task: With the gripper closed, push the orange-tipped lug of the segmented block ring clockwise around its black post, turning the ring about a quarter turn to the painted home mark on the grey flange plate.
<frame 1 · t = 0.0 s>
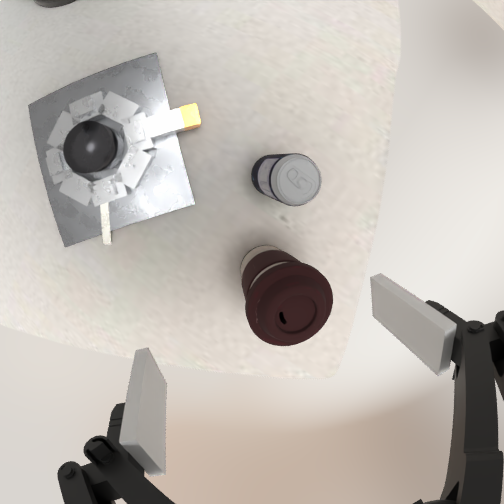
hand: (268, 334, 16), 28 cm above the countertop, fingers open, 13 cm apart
beverage can: (270, 174, 42), on the countertop
segmented block ring: (119, 139, 34), point 3 cm above the countertop, hinge at 0.0°
flange plate: (104, 149, 36), on the countertop
coffee cup: (263, 267, 46), on the countertop
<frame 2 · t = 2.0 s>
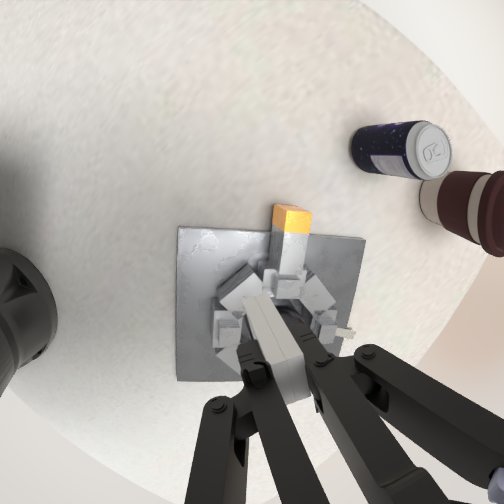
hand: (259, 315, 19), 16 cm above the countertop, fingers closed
beverage can: (366, 149, 34), on the countertop
segmented block ring: (279, 301, 33), point 3 cm above the countertop, hinge at 0.0°
flange plate: (267, 312, 37), on the countertop
coffee cup: (434, 196, 38), on the countertop
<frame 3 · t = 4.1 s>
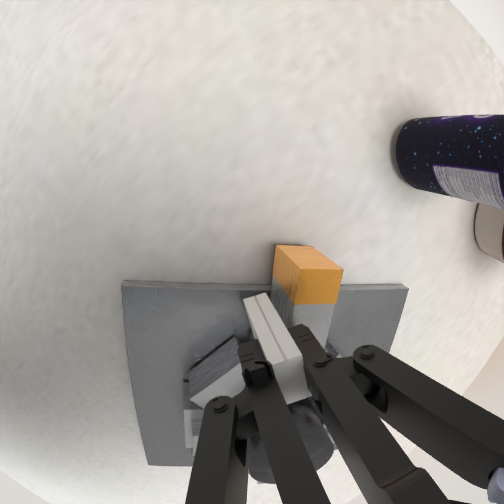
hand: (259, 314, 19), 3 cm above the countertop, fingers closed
beverage can: (414, 153, 21), on the countertop
segmented block ring: (282, 390, 20), point 3 cm above the countertop, hinge at -0.2°, touching gripper
flange plate: (265, 391, 25), on the countertop
coffee cup: (489, 218, 25), on the countertop
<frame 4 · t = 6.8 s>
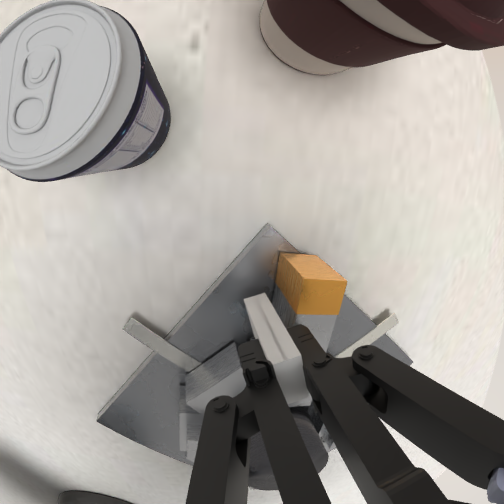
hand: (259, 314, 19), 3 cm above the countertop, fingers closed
beverage can: (127, 123, 17), on the countertop
segmented block ring: (279, 398, 20), point 3 cm above the countertop, hinge at -55.7°, touching gripper
flange plate: (262, 397, 24), on the countertop
coffee cup: (309, 31, 17), on the countertop
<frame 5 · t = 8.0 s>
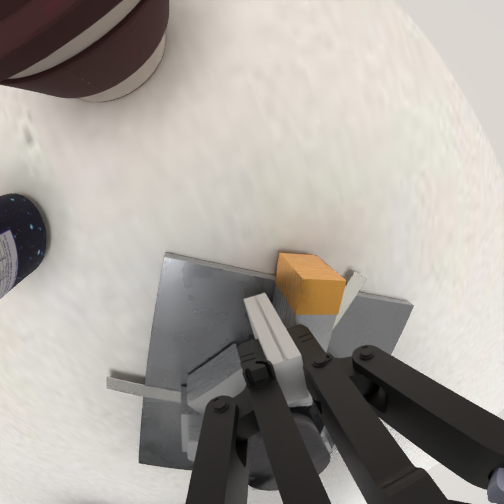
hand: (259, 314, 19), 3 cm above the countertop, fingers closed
beverage can: (21, 231, 17), on the countertop
segmented block ring: (280, 398, 20), point 3 cm above the countertop, hinge at -81.8°, touching gripper
flange plate: (264, 397, 24), on the countertop
coffee cup: (111, 52, 15), on the countertop
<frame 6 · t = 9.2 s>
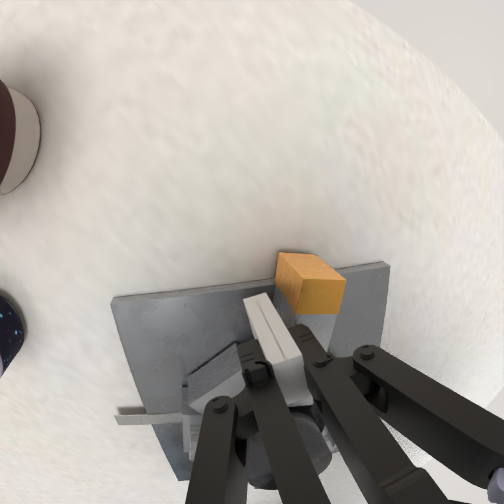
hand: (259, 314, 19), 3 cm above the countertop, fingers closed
beverage can: (2, 317, 18), on the countertop
segmented block ring: (281, 398, 20), point 3 cm above the countertop, hinge at -100.9°, touching gripper
flange plate: (264, 397, 24), on the countertop
coffee cup: (4, 142, 15), on the countertop
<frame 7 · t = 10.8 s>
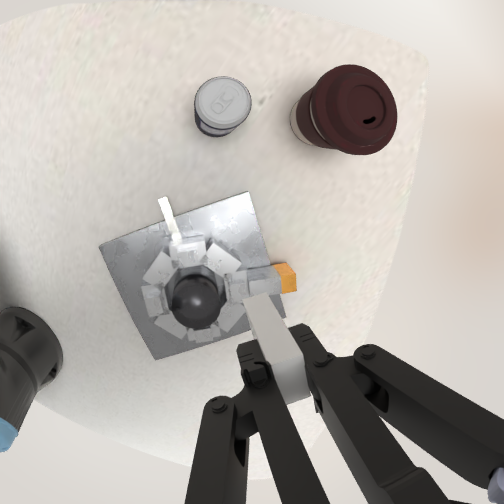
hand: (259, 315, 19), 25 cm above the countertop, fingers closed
beverage can: (216, 117, 38), on the countertop
segmented block ring: (218, 288, 41), point 3 cm above the countertop, hinge at -100.9°
flange plate: (195, 282, 44), on the countertop
coffee cup: (313, 121, 40), on the countertop
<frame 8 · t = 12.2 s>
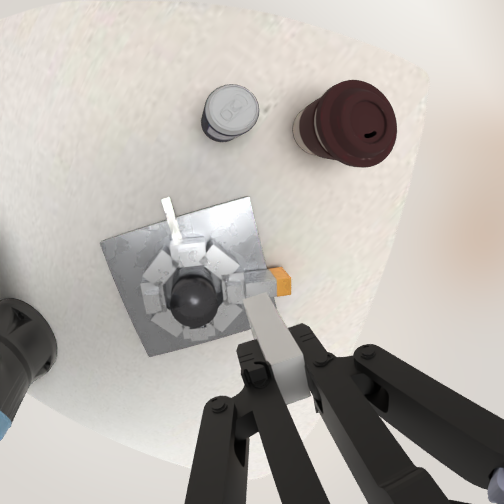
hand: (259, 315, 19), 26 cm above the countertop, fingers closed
beverage can: (221, 122, 40), on the countertop
segmented block ring: (215, 289, 42), point 3 cm above the countertop, hinge at -100.9°
flange plate: (192, 282, 45), on the countertop
coffee cup: (314, 131, 42), on the countertop
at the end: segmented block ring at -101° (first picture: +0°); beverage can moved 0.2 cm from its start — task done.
